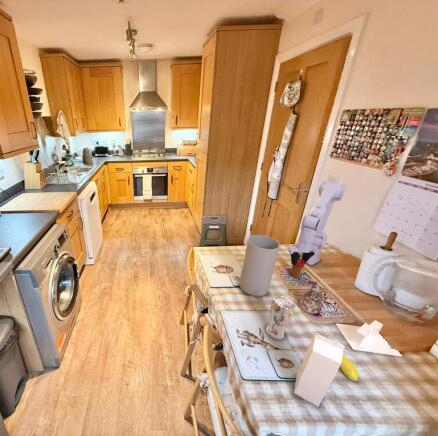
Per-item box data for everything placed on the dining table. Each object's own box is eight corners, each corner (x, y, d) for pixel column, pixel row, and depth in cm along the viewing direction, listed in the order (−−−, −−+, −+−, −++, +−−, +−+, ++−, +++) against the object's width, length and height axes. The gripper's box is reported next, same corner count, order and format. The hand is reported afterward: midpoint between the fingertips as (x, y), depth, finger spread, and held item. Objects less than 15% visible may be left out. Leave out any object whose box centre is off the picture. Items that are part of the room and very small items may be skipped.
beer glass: (283, 327, 88) (293, 297, 82) (287, 342, 82) (298, 311, 76) (263, 322, 90) (272, 293, 84) (265, 337, 85) (274, 306, 78)
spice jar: (291, 271, 119) (295, 258, 116) (300, 275, 117) (304, 261, 113) (288, 275, 117) (292, 261, 113) (298, 279, 114) (302, 265, 111)
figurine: (299, 309, 96) (307, 287, 91) (298, 298, 102) (306, 277, 97) (320, 316, 93) (329, 293, 88) (317, 304, 99) (326, 282, 94)
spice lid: (289, 263, 115) (290, 259, 114) (296, 260, 117) (297, 256, 116) (299, 269, 111) (301, 264, 110) (306, 266, 113) (307, 262, 112)
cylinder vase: (238, 292, 106) (247, 246, 95) (239, 276, 116) (248, 233, 106) (268, 300, 101) (281, 252, 91) (266, 282, 112) (278, 237, 101)
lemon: (344, 381, 70) (349, 373, 69) (331, 357, 77) (335, 349, 76) (360, 384, 70) (365, 376, 68) (345, 359, 77) (349, 351, 75)
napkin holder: (353, 350, 80) (359, 338, 77) (335, 323, 90) (339, 312, 88) (403, 356, 77) (411, 345, 75) (378, 328, 88) (384, 317, 85)
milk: (296, 376, 72) (317, 325, 63) (319, 389, 69) (345, 337, 60) (293, 393, 67) (315, 341, 58) (318, 408, 64) (345, 354, 55)
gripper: (311, 234, 113) (304, 257, 119) (286, 237, 110) (279, 261, 116) (324, 241, 107) (315, 265, 112) (297, 244, 104) (290, 269, 110)
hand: (298, 263), depth 114 cm, fingers closed on spice lid, 5 cm apart
